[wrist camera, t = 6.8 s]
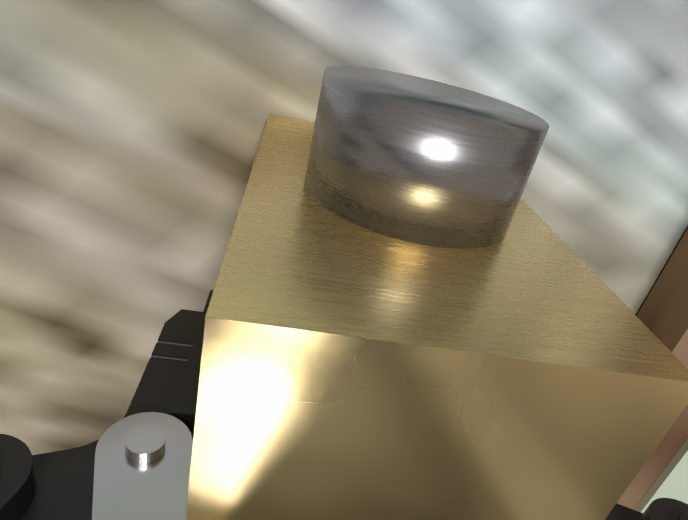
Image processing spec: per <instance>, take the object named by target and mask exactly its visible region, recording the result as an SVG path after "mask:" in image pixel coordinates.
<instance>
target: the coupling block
mask: <svg viewBox="0 0 688 520" xmlns="http://www.w3.org/2000/svg"><path fill="white" fill-rule="evenodd" d="M548 129H549V125H548V123H547V122H546V121H545V120H543V119H541V118H540V117H538V116H536V115H535V114H533V113H530V112H528V111H526V110H524V109H522V108H519V107H517V106H514V105H512V104H509V103H506V102H504V101H501V100H498V99H495V98H492V97H489V96H486V95H483V94H480V93H476V92H473V91H470V90H466V89H463V88H459V87H456V86H452V85H448V84H445V83H441V82H437V81H433V80H429V79H424V78H420V77H415V76H411V75H406V74H401V73H396V72H390V71H385V70H379V69H372V68H364V67H354V66H331V67H327V68H326V69H325V71H324V76H323V81H322V87H321V92H320V98H319V103H318V109H317V114H316V120H315V123H313V122H308V121H303V120H298V119H293V118H288V117H283V116H278V115H273V114H269V117H268V120H267V123H266V126H265V129H264V132H263V136H262V139H261V142H260V145H259V148H258V151H257V155H256V158H255V161H254V164H253V167H252V170H251V174H250V177H249V180H248V183H247V186H246V189H245V193H244V196H243V199H242V202H241V205H240V208H239V212H238V215H237V218H236V221H235V224H234V227H233V231H232V234H231V237H230V240H229V243H228V246H227V250H226V253H225V256H224V259H223V262H222V265H221V269H220V272H219V275H218V278H217V281H216V284H215V288H214V291H213V294H212V297H211V300H210V303H209V307H208V310H207V313H206V316H205V325H204V335H203V346H202V356H201V366H200V376H199V386H198V397H197V407H196V417H195V427H194V437H193V447H192V458H191V468H190V478H189V488H188V498H187V509H186V519H185V520H605V518H606V517H607V516H608V514H609V513H610V512H611V510H612V509H613V507H614V506H615V505H616V503H617V502H618V500H619V499H620V498H621V496H622V495H623V493H624V492H625V491H626V489H627V488H628V486H629V485H630V484H631V482H632V481H633V479H634V478H635V477H636V475H637V474H638V473H639V471H640V470H641V468H642V467H643V466H644V464H645V463H646V461H647V460H648V459H649V457H650V456H651V454H652V453H653V452H654V450H655V449H656V447H657V446H658V445H659V443H660V442H661V440H662V439H663V438H664V436H665V435H666V434H667V432H668V431H669V429H670V428H671V427H672V425H673V424H674V422H675V421H676V420H677V418H678V417H679V415H680V414H681V413H682V411H683V410H684V408H685V407H686V406H687V404H688V369H687V368H686V367H685V366H684V365H683V364H682V362H681V361H680V360H679V359H678V358H677V357H676V356H675V355H674V354H673V353H672V352H671V351H670V350H669V349H668V348H667V347H666V346H665V345H664V344H663V343H662V342H661V341H660V340H659V339H658V338H657V337H656V336H655V335H654V334H653V333H652V332H651V331H650V330H649V329H648V328H647V327H646V326H645V325H644V324H643V323H642V321H641V320H640V319H639V318H638V317H637V316H636V315H635V314H634V313H633V312H632V311H631V310H630V309H629V308H628V307H627V306H626V305H625V304H624V303H623V302H622V301H621V300H620V299H619V298H618V297H617V296H616V295H615V294H614V293H613V292H612V291H611V290H610V289H609V288H608V287H607V286H606V285H605V284H604V283H603V282H602V281H601V279H600V278H599V277H598V276H597V275H596V274H595V273H594V272H593V271H592V270H591V269H590V268H589V267H588V266H587V265H586V264H585V263H584V262H583V261H582V260H581V259H580V258H579V257H578V256H577V255H576V254H575V253H574V252H573V251H572V250H571V249H570V248H569V247H568V246H567V245H566V244H565V243H564V242H563V241H562V240H561V239H560V237H559V236H558V235H557V234H556V233H555V232H554V231H553V230H552V229H551V228H550V227H549V226H548V225H547V224H546V223H545V222H544V221H543V220H542V219H541V218H540V217H539V216H538V215H537V214H536V213H535V212H534V211H533V210H532V209H531V208H530V207H529V206H528V205H527V204H526V203H525V202H524V201H523V200H522V199H521V196H522V193H523V191H524V188H525V186H526V183H527V181H528V178H529V176H530V173H531V171H532V168H533V166H534V163H535V161H536V158H537V156H538V153H539V151H540V149H541V146H542V144H543V141H544V139H545V136H546V134H547V131H548Z"/></svg>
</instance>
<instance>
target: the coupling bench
mask: <svg viewBox="0 0 688 520" xmlns="http://www.w3.org/2000/svg"><path fill="white" fill-rule="evenodd" d="M637 317H638V318H639V319H640V320H641V321H642V323H643V324H644V325H645V326H646V327H647V328H648V329H649V330H650V331H651V332H652V333H653V334H654V335H655V336H656V337H657V338H658V339H659V340H660V341H661V342H662V343H663V344H664V345H665V346H666V347H667V348H668V349H669V350H670V351H671V352H672V353H673V354H674V355H675V356H676V357H677V358H678V359H679V360H680V361H681V362H682V364H683V365H684V366H685V367H686V368H687V369H688V229H687V230H686V232H685V234H684V235H683V237H682V239H681V241H680V242H679V244H678V246H677V247H676V249H675V251H674V253H673V254H672V256H671V258H670V259H669V261H668V263H667V264H666V266H665V268H664V270H663V271H662V273H661V275H660V276H659V278H658V280H657V282H656V283H655V285H654V287H653V288H652V290H651V292H650V293H649V295H648V297H647V299H646V300H645V302H644V304H643V305H642V307H641V309H640V311H639V312H638V314H637ZM658 498H671V499H676V500H679V501H681V502H684V503H686V504H688V404H687V406H686V407H685V408H684V410H683V411H682V413H681V414H680V415H679V417H678V418H677V420H676V421H675V422H674V424H673V425H672V427H671V428H670V429H669V431H668V432H667V434H666V435H665V436H664V438H663V439H662V440H661V442H660V443H659V445H658V446H657V447H656V449H655V450H654V452H653V453H652V454H651V456H650V457H649V459H648V460H647V461H646V463H645V464H644V466H643V467H642V468H641V470H640V471H639V473H638V474H637V475H636V477H635V478H634V479H633V481H632V482H631V484H630V485H629V486H628V488H627V489H626V491H625V492H624V493H623V495H622V496H621V498H620V499H619V500H618V502H617V504H620V505H622V506H625V507H628V508H630V509H633V510H636V511H638V512H641V513H644V512H645V510H646V509H647V508H648V506H649V505H650V504H651V503H652V502H653V501H654V500H656V499H658Z"/></svg>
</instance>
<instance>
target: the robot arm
mask: <svg viewBox="0 0 688 520" xmlns="http://www.w3.org/2000/svg"><path fill="white" fill-rule="evenodd" d="M213 291H214V290H211V291H210V293H209V296H208V299H207V302H206V305H205V309H204V312H197V311H190V310H183V309H182V310H180V311H179V312H178V313H177V314H175V315H174V316H173V317H172V318H170V319H169V320H168V321H167V322H165V324H164V327H163V329H162V331H161V334H160V336H159V339H158V343H156V346H155V348H154V350H153V353H152V356H151V358H150V360H149V362H148V364H147V367H146V369H145V371H144V374H143V376H142V378H141V381H140V383H139V385H138V388H137V390H136V392H135V395H134V397H133V399H132V402H131V404H130V406H129V409H128V411H127V413H126V415H125V417H124V418H123V419H121V420H119V421H117V422H116V423H114V424H113V425H112V426H110V427H109V428H108V429H107V430H106V431H105V432H104V433H103V434H102V436H101V437H100V439H99V440H97V441H95V442H93V443H90V444H88V445H85V446H82V447H78V448H73V449H69V450H63V451H57V452H50V453H44V454H38V455H32V454H31V452H30V450H29V448H28V447H27V445H26V444H25V443H23V442H22V441H21V440H19V439H17V438H15V437H13V436H9V435H5V434H0V520H185V519H186V509H187V498H188V488H189V478H190V468H191V458H192V447H193V437H194V427H195V417H196V407H197V397H198V386H199V376H200V366H201V356H202V346H203V335H204V325H205V316H206V313H207V310H208V307H209V303H210V300H211V297H212V294H213ZM605 520H688V504H686V503H684V502H681V501H679V500H676V499H671V498H658V499H656V500H654V501H653V502H652V503H651V504H650V505H649V506H648V508H647V509H646V510H645V512H644V513H641V512H638V511H636V510H633V509H630V508H628V507H625V506H622V505H620V504H617V503H616V505H615V506H614V507H613V509H612V510H611V512H610V513H609V514H608V516H607V517H606V518H605Z"/></svg>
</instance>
